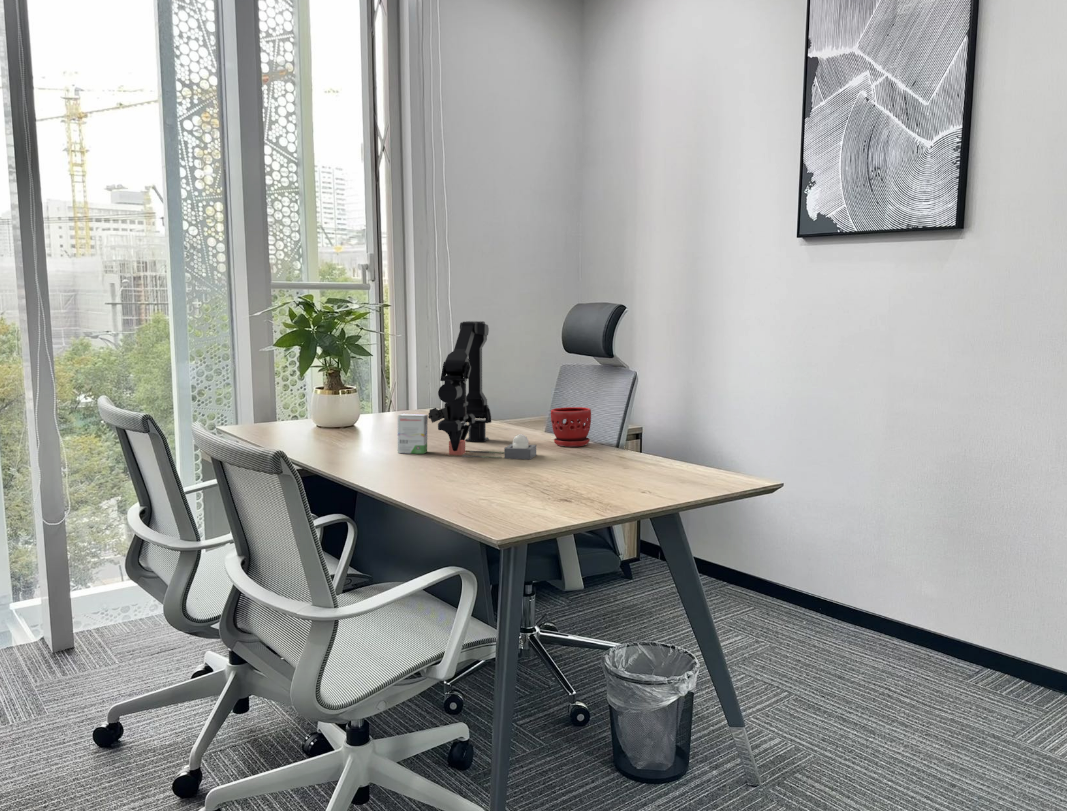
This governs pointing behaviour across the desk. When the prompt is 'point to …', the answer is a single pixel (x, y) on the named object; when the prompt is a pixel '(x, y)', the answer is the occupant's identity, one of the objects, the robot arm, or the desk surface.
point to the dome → (520, 441)
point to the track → (476, 456)
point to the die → (460, 448)
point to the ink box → (412, 433)
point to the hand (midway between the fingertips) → (457, 449)
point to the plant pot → (571, 426)
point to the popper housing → (519, 452)
